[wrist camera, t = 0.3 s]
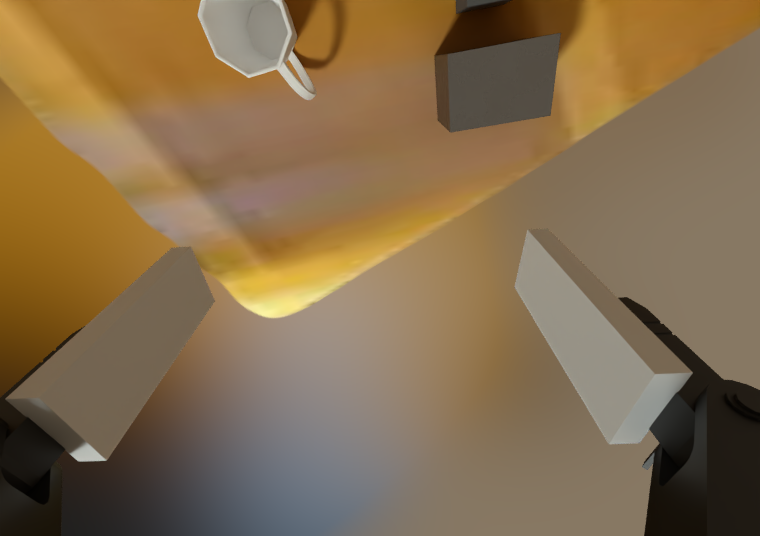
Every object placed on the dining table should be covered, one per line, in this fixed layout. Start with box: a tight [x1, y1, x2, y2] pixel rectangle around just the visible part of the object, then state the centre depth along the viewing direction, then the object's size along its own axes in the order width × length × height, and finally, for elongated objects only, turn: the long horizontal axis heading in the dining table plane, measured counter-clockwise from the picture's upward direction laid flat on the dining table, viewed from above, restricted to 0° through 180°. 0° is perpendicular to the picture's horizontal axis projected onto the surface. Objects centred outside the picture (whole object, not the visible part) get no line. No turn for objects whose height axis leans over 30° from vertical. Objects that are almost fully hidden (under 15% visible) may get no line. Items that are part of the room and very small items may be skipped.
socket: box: [434, 33, 561, 132], centre depth 30 cm, size 6×9×7 cm
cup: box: [198, 0, 317, 100], centre depth 28 cm, size 7×10×8 cm
